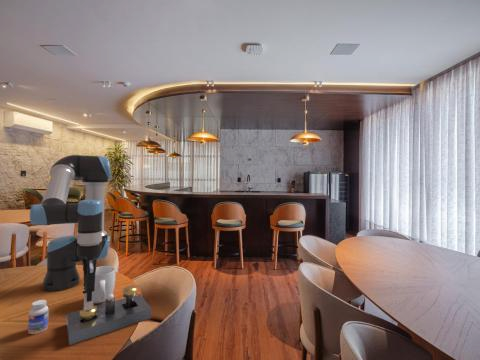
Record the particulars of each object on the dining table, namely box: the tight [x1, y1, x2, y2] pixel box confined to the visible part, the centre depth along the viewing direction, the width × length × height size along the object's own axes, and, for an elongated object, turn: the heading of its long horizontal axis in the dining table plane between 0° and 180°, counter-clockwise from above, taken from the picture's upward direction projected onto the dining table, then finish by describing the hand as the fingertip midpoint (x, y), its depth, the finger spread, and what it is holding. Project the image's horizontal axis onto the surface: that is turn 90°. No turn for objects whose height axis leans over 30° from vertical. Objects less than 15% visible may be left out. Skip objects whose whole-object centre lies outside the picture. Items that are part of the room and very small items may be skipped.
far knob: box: [122, 285, 138, 306], centre depth 97 cm, size 5×5×6 cm
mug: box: [93, 265, 116, 304], centre depth 107 cm, size 15×11×13 cm
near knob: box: [79, 305, 97, 322], centre depth 88 cm, size 5×5×6 cm
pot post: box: [104, 293, 116, 313], centre depth 92 cm, size 3×3×6 cm
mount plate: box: [66, 294, 152, 347], centre depth 92 cm, size 14×26×4 cm, turn 128°
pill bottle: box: [27, 299, 49, 335], centre depth 86 cm, size 5×5×10 cm
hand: (88, 308), depth 88 cm, fingers closed
